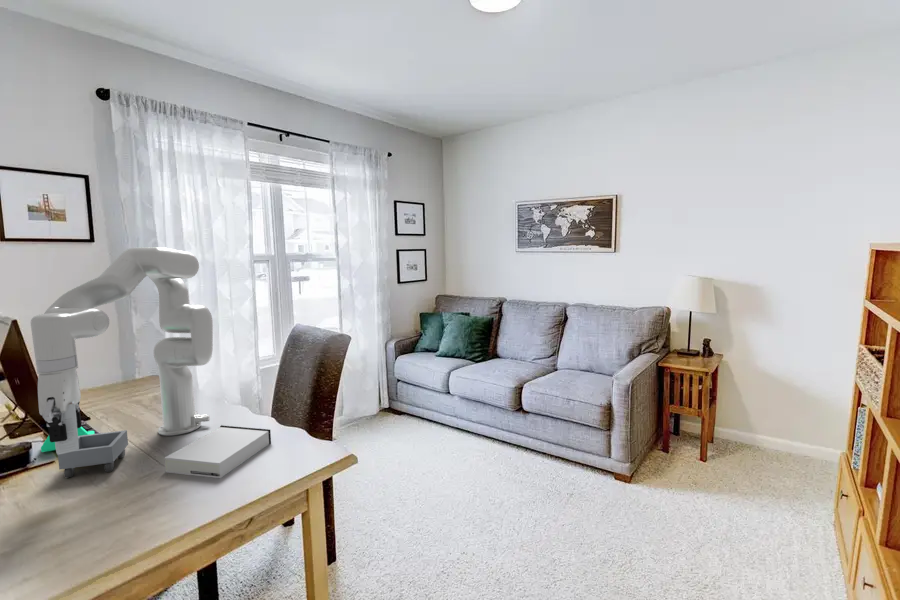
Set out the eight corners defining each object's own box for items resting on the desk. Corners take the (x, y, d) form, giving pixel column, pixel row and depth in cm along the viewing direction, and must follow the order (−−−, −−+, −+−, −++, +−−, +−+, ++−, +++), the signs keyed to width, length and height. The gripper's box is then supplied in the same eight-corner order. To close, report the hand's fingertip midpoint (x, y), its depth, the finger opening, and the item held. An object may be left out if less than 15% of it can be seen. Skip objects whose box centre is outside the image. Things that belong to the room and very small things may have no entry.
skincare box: (55, 447, 112) (48, 401, 110) (78, 442, 115) (72, 396, 113) (57, 455, 107) (50, 407, 106) (81, 449, 111) (75, 402, 109)
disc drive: (271, 444, 142) (270, 429, 141) (221, 480, 120) (219, 462, 119) (222, 440, 145) (221, 425, 145) (165, 473, 123) (163, 456, 123)
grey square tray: (129, 454, 134) (126, 430, 134) (114, 472, 123) (111, 446, 122) (80, 460, 130) (77, 435, 130) (60, 480, 119) (57, 453, 118)
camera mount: (95, 437, 147) (92, 407, 146) (92, 446, 141) (89, 414, 140) (47, 446, 141) (43, 415, 140) (41, 455, 134) (38, 422, 133)
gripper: (55, 357, 115) (64, 423, 118) (17, 376, 99) (28, 452, 101) (91, 354, 118) (98, 419, 120) (59, 372, 102) (68, 447, 104)
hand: (66, 433), depth 111 cm, fingers closed on skincare box, 7 cm apart
